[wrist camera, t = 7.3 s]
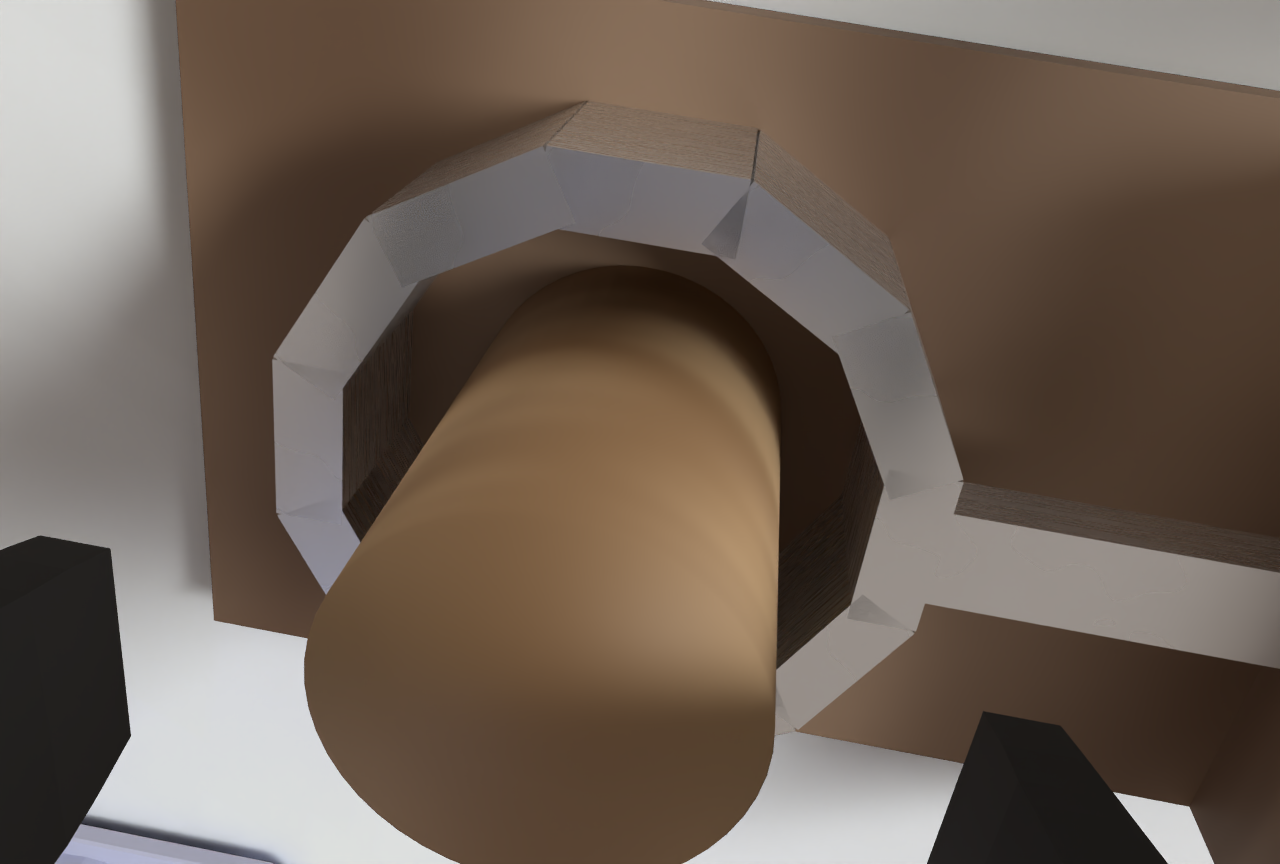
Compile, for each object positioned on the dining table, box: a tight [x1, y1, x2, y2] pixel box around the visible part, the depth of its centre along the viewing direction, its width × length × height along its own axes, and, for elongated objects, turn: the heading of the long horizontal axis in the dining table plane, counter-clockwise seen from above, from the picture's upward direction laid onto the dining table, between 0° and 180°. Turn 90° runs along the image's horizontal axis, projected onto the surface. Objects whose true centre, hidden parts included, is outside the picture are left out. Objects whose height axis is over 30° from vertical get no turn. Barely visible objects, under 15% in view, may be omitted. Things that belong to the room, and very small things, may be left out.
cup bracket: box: [176, 0, 1280, 864], centre depth 12 cm, size 16×10×6 cm, turn 82°
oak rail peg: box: [304, 265, 781, 864], centre depth 12 cm, size 4×4×6 cm
